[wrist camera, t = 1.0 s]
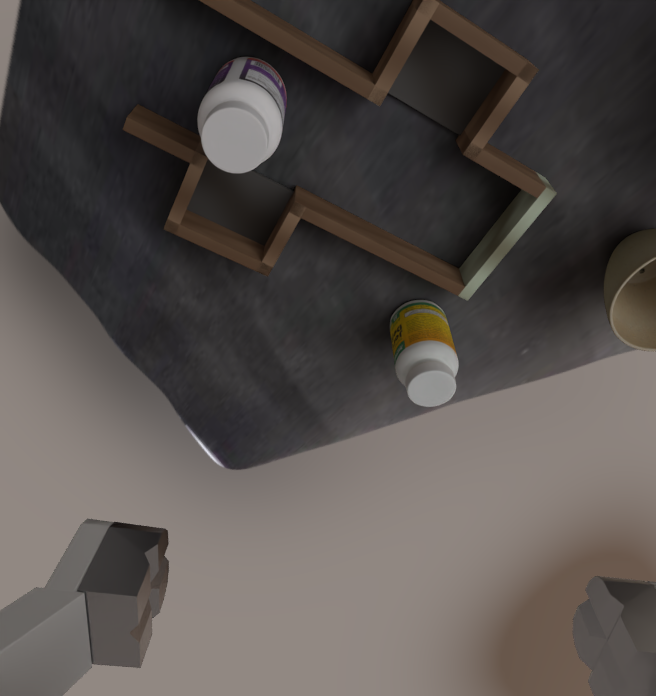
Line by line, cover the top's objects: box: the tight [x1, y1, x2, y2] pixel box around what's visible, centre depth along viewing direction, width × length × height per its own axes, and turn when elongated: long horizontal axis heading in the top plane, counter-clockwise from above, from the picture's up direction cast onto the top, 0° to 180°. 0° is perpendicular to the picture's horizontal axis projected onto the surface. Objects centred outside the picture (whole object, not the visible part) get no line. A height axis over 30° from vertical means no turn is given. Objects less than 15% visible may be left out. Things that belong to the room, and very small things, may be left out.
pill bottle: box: [197, 57, 287, 173], centre depth 39 cm, size 5×5×10 cm
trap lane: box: [123, 0, 557, 300], centre depth 44 cm, size 23×30×3 cm
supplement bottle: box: [390, 300, 458, 407], centre depth 51 cm, size 5×5×10 cm
